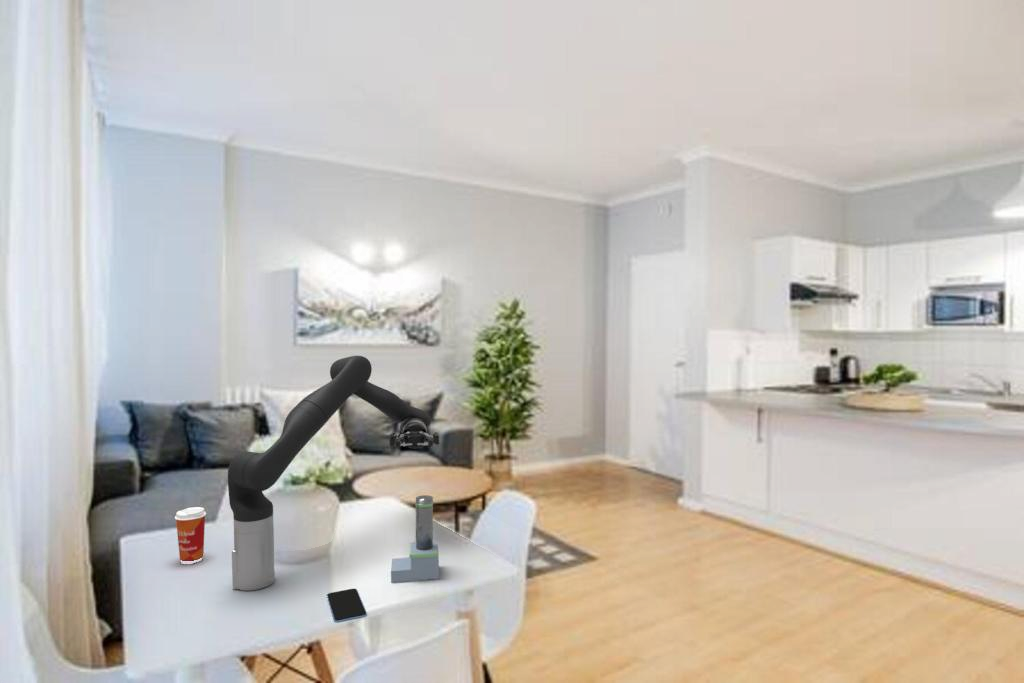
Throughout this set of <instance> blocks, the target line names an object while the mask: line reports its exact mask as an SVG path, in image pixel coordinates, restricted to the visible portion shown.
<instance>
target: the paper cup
mask: <svg viewBox="0 0 1024 683" xmlns="http://www.w3.org/2000/svg"><path fill="white" fill-rule="evenodd" d="M175 514H176V515H175V516H174V519H175V521H176V522H175V523H176V532H177V543H178V544H177V545H178V553H179V554H178V555H179V561H180V560H182V561H194V560H198V559H200V558H202V557H203V558H204V553H205V552H204V550H205V548H204V547H205V522H206V521H205V520H206V515H207V512H206V511H205V508H204V507H199V506H198V507H196V506H195V507H187V508H185V509H180V510H178V511H177V512H176V513H175Z"/></svg>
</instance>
